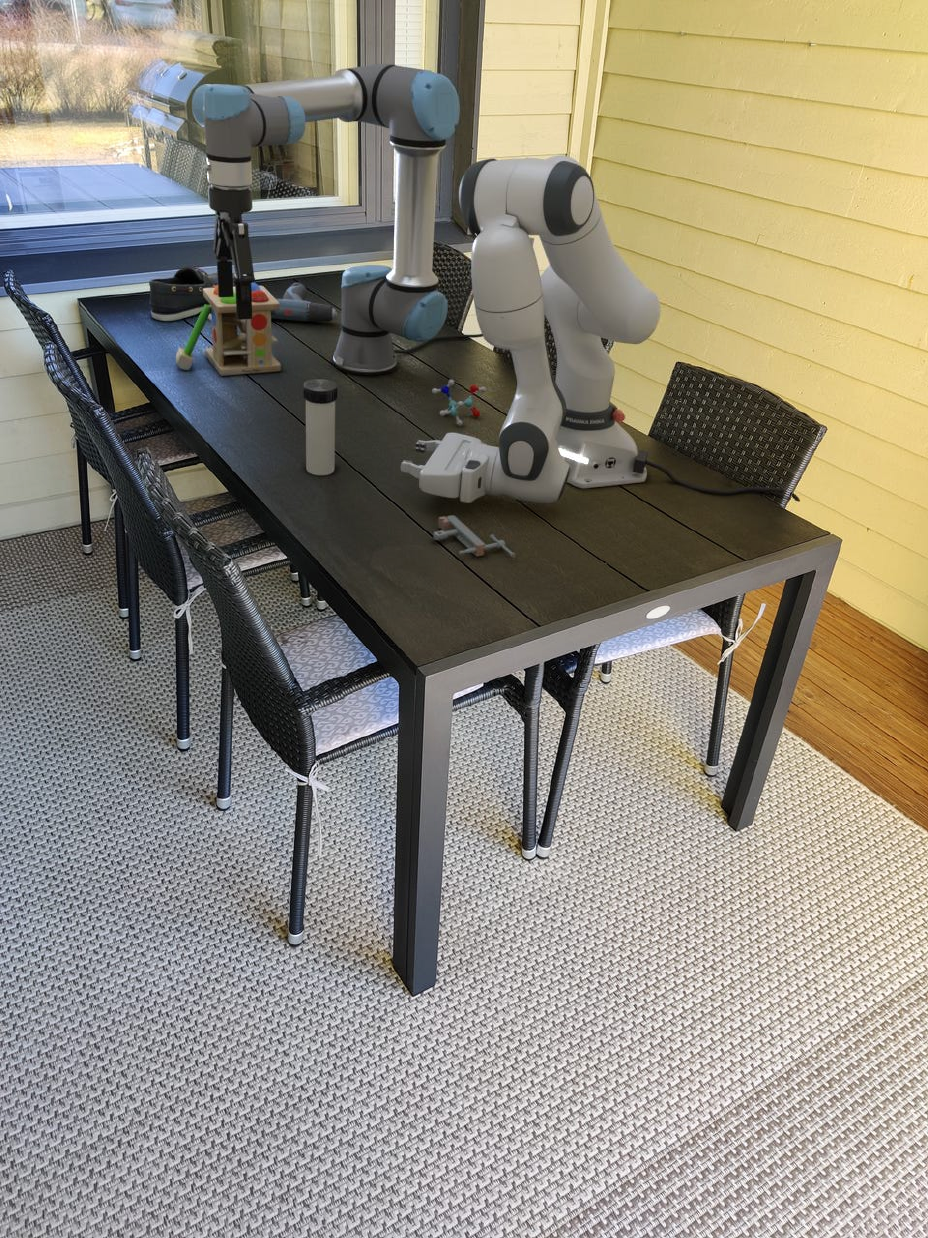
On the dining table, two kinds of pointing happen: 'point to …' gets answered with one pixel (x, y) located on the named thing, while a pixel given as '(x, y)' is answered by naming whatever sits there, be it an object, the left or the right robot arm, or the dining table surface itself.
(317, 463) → the jar
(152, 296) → the boat shoe
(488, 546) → the clamp
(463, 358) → the dining table surface
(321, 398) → the lid
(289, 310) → the power drill
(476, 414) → the molecular model
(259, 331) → the pounding bench toy
